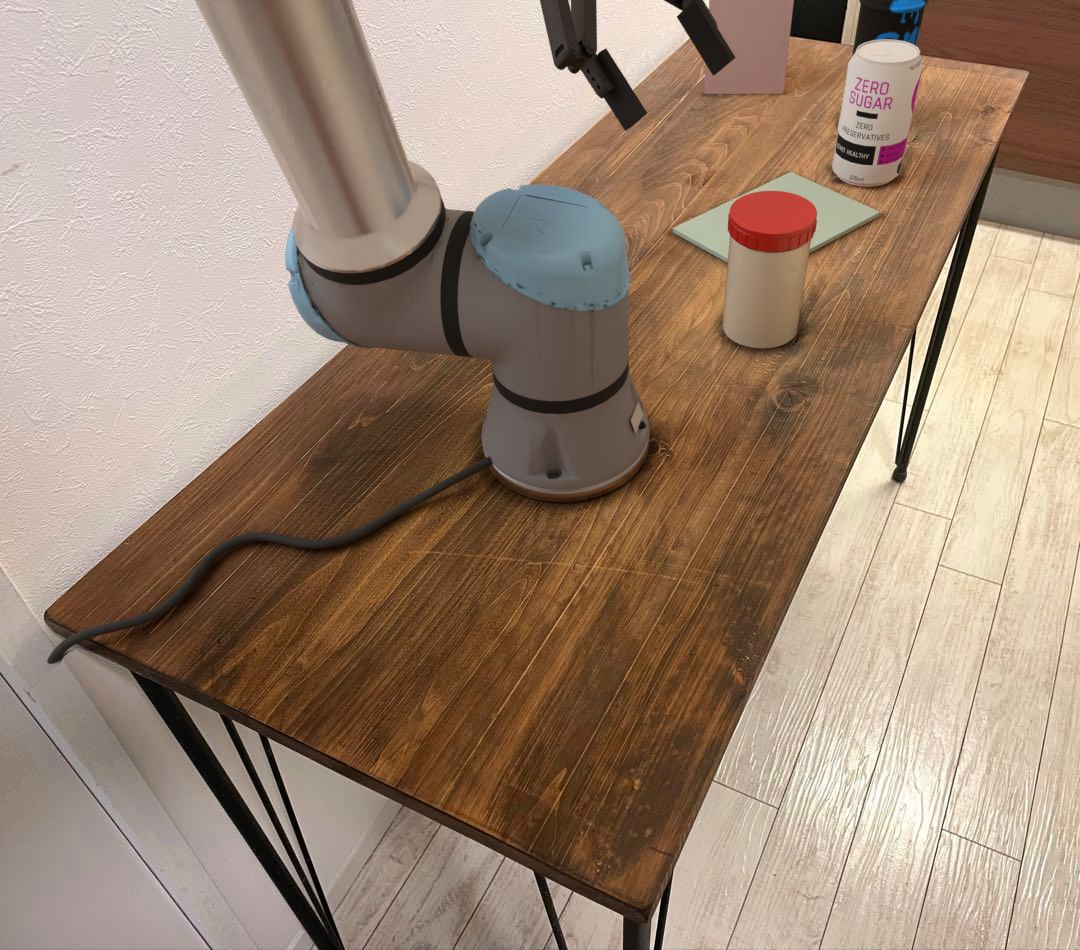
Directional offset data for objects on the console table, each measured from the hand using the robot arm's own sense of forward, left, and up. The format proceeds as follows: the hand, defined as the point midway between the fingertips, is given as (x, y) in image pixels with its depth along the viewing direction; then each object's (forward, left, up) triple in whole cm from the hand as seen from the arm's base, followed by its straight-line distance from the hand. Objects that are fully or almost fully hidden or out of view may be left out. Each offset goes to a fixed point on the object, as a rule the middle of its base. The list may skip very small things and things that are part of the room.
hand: (682, 94), depth 85 cm
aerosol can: (+47, +13, -22) cm, 53 cm away
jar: (+2, -10, -22) cm, 24 cm away
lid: (+2, -10, -9) cm, 14 cm away
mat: (+18, +3, -22) cm, 28 cm away
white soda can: (+35, +4, -22) cm, 42 cm away
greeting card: (+42, +33, -22) cm, 58 cm away
